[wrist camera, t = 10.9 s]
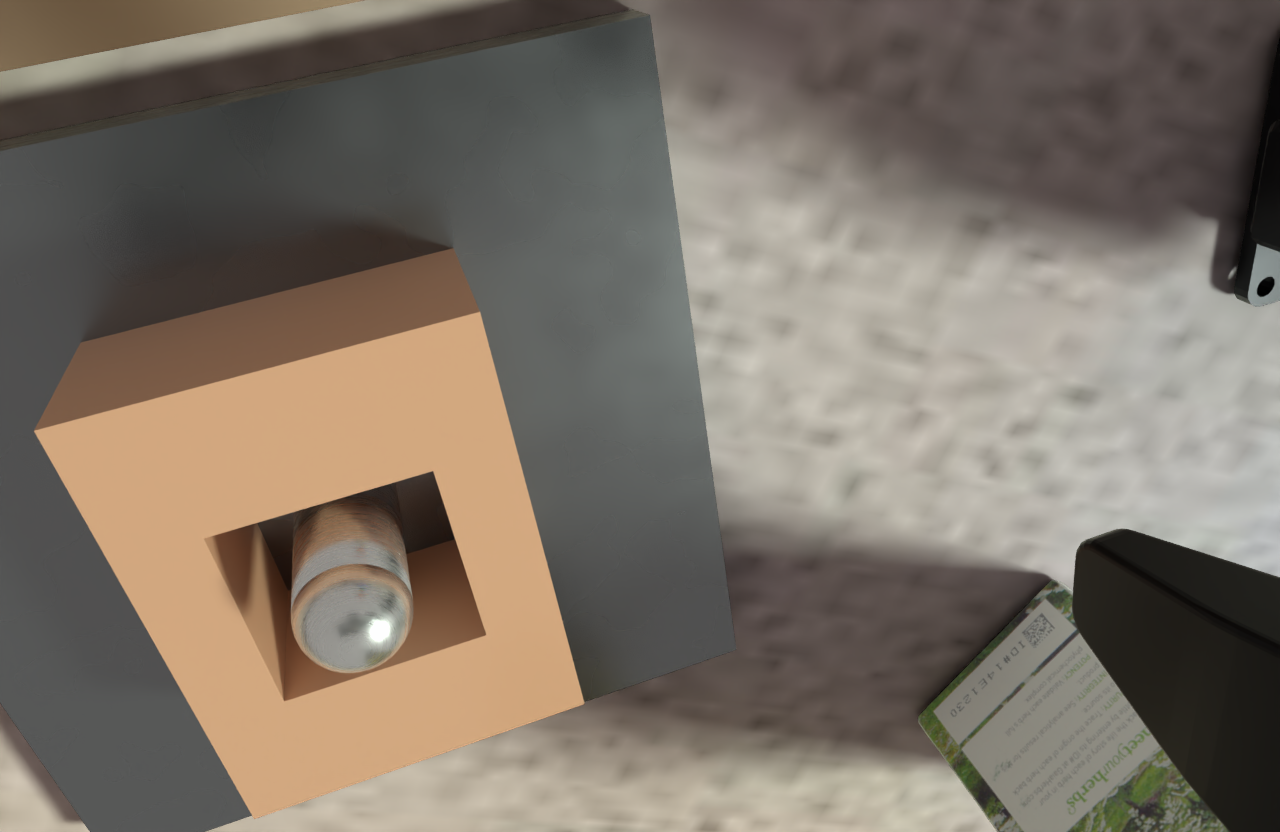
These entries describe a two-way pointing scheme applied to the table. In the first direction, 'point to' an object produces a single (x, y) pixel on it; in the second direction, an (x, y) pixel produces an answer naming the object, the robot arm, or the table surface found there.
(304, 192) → the hub base
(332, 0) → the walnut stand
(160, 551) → the square tube wooden block
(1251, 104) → the table surface
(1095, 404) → the table surface
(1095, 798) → the syrup box
